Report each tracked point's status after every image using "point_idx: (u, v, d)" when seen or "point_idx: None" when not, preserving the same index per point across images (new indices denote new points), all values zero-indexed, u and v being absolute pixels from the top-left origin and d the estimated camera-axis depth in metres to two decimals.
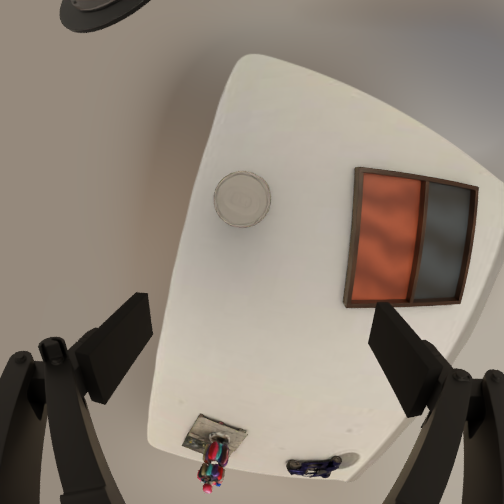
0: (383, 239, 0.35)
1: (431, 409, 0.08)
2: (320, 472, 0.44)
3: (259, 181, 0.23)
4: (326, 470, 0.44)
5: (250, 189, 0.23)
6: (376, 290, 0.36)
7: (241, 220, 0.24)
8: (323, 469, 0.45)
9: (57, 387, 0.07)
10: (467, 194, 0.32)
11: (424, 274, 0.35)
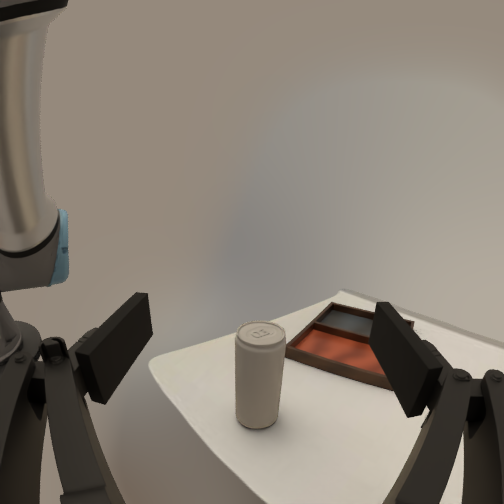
0: (348, 356, 0.40)
1: (431, 409, 0.08)
2: None
3: (256, 321, 0.28)
4: None
5: (257, 327, 0.27)
6: None
7: (276, 338, 0.25)
8: None
9: (57, 387, 0.07)
10: (334, 311, 0.56)
11: None
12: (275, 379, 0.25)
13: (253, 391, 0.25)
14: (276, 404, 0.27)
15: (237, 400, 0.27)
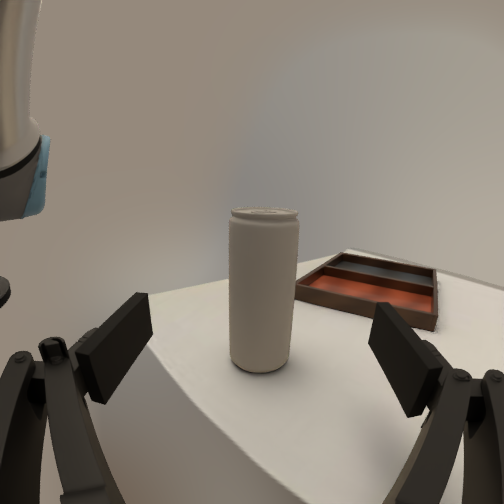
0: (368, 298, 0.34)
1: (431, 409, 0.08)
2: None
3: (257, 208, 0.22)
4: None
5: (259, 209, 0.21)
6: (420, 309, 0.30)
7: (286, 214, 0.19)
8: None
9: (57, 387, 0.07)
10: (345, 262, 0.49)
11: None
12: (286, 280, 0.19)
13: (255, 299, 0.19)
14: (288, 330, 0.20)
15: (231, 324, 0.21)
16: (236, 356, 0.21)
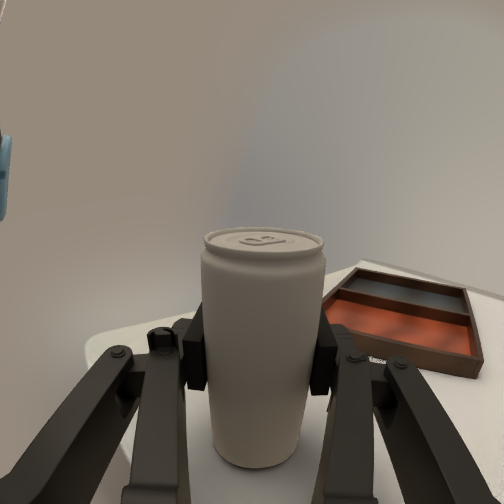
0: (396, 333, 0.25)
1: (332, 393, 0.10)
2: None
3: (252, 229, 0.13)
4: None
5: (255, 233, 0.12)
6: (458, 346, 0.21)
7: (304, 246, 0.10)
8: None
9: (158, 378, 0.09)
10: (361, 280, 0.41)
11: None
12: (301, 362, 0.10)
13: (247, 392, 0.10)
14: (298, 421, 0.12)
15: (212, 412, 0.12)
16: (221, 449, 0.12)
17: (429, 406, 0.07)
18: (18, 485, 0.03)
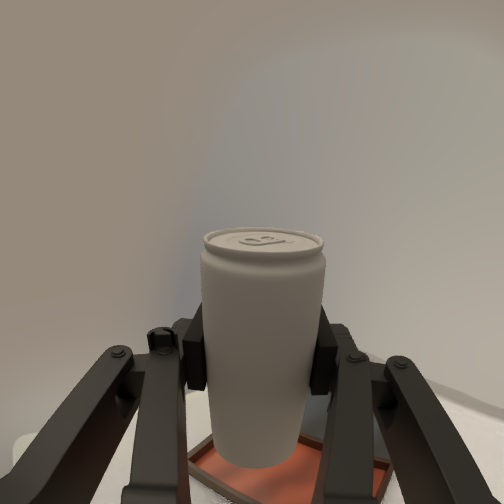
0: (287, 481, 0.20)
1: (332, 393, 0.10)
2: None
3: (251, 229, 0.13)
4: None
5: (254, 233, 0.12)
6: None
7: (304, 246, 0.10)
8: None
9: (158, 378, 0.09)
10: None
11: None
12: (301, 362, 0.10)
13: (246, 393, 0.10)
14: (298, 422, 0.12)
15: (212, 412, 0.12)
16: (221, 449, 0.12)
17: (428, 406, 0.07)
18: (18, 485, 0.03)
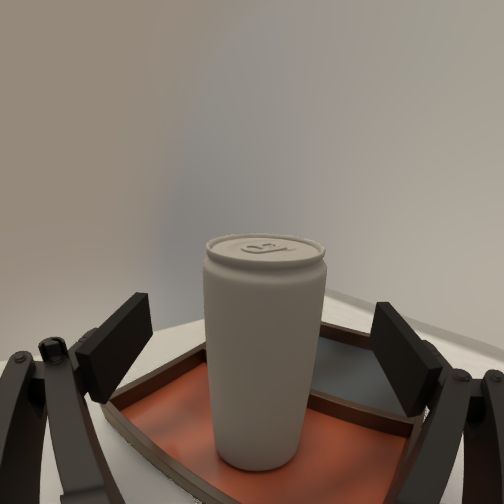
0: None
1: (431, 409, 0.08)
2: None
3: (253, 235, 0.13)
4: None
5: (256, 240, 0.12)
6: (361, 493, 0.10)
7: (306, 254, 0.10)
8: None
9: (57, 387, 0.07)
10: None
11: (366, 402, 0.17)
12: (302, 367, 0.10)
13: (248, 398, 0.10)
14: (299, 425, 0.12)
15: (213, 416, 0.12)
16: (222, 452, 0.12)
17: None
18: None
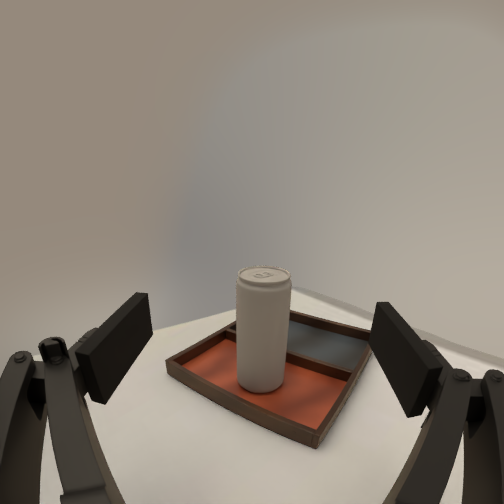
0: None
1: (431, 409, 0.08)
2: None
3: (258, 267, 0.27)
4: None
5: (260, 270, 0.26)
6: (319, 407, 0.24)
7: (281, 278, 0.24)
8: None
9: (57, 387, 0.07)
10: None
11: (326, 361, 0.31)
12: (280, 328, 0.24)
13: (257, 342, 0.24)
14: (282, 362, 0.26)
15: (238, 358, 0.26)
16: (242, 381, 0.26)
17: None
18: None
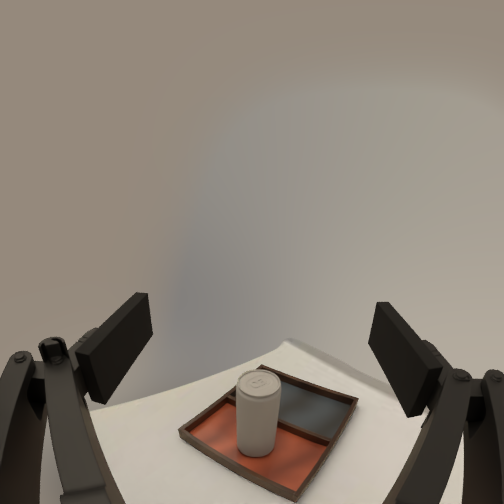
0: None
1: (431, 409, 0.08)
2: None
3: (254, 370, 0.30)
4: None
5: (255, 376, 0.29)
6: (300, 469, 0.27)
7: (272, 388, 0.27)
8: None
9: (57, 387, 0.07)
10: None
11: (311, 427, 0.34)
12: (271, 420, 0.27)
13: (252, 430, 0.27)
14: (272, 438, 0.29)
15: (238, 435, 0.29)
16: (241, 449, 0.29)
17: None
18: None
